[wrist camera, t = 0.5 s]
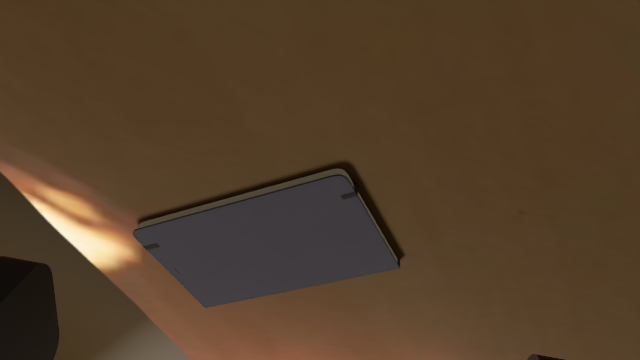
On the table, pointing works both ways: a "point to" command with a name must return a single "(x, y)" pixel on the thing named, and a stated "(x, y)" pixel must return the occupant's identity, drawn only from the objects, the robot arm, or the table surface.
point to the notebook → (270, 240)
